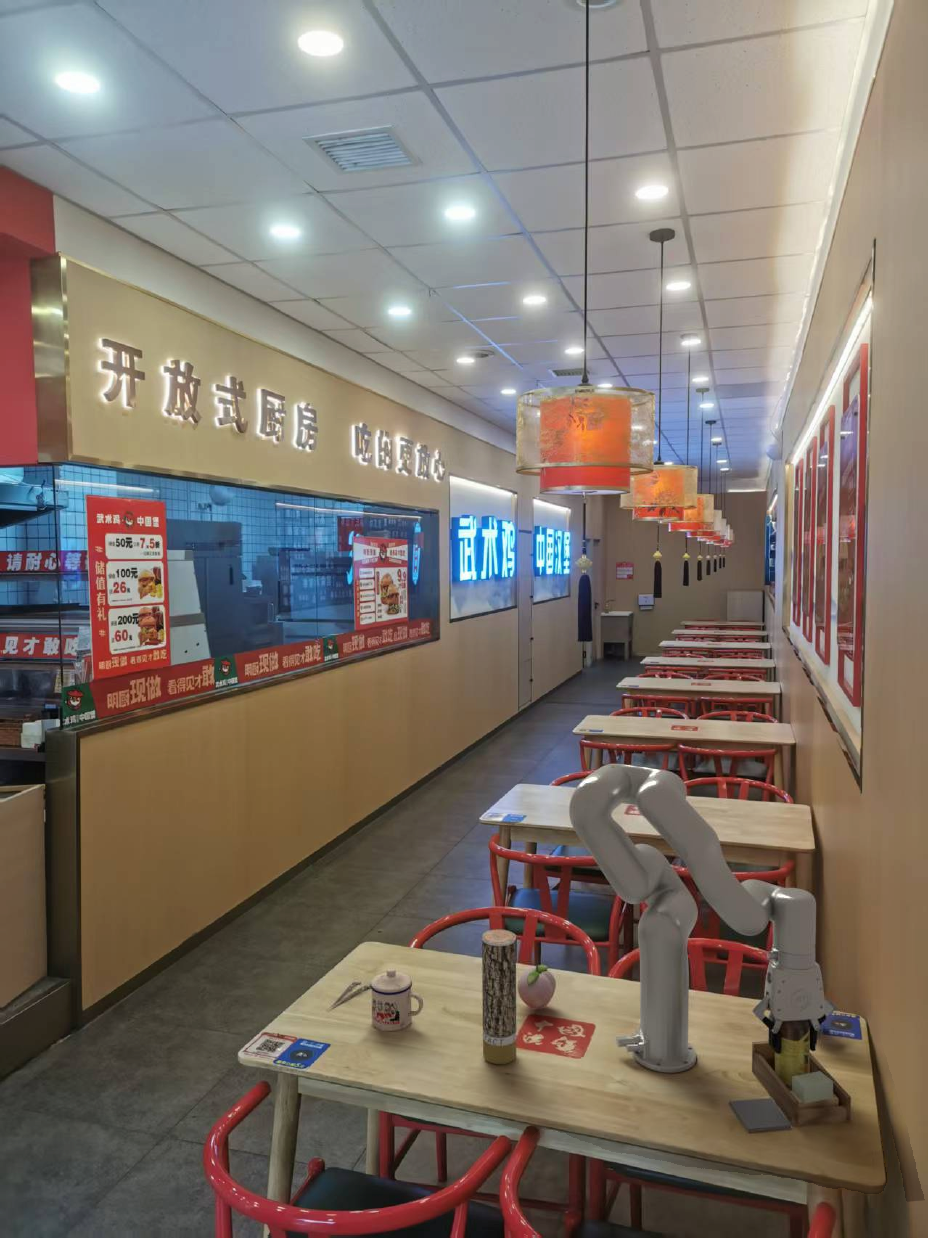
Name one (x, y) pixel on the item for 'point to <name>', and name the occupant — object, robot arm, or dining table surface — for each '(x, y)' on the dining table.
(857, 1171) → the dining table surface
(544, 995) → the decorative fruit
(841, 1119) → the wooden tray
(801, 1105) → the plate
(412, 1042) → the dining table surface
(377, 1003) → the teacup with lid
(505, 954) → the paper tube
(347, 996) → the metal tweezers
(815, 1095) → the offcut top
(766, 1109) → the mat
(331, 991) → the dining table surface
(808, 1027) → the sauce bottle
